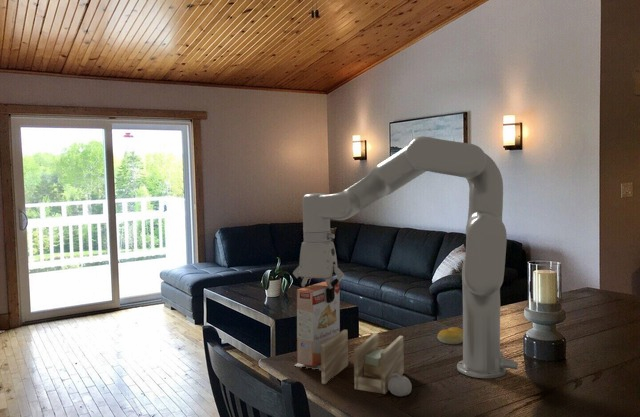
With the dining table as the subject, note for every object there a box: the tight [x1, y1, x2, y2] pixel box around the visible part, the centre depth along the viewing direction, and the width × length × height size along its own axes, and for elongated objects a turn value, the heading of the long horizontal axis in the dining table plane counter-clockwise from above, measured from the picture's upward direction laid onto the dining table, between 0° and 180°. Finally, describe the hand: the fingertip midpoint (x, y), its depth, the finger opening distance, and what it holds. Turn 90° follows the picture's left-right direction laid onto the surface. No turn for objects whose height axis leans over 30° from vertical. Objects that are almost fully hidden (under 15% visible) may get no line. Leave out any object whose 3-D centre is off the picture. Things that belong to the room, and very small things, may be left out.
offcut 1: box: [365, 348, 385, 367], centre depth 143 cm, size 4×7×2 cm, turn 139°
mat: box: [293, 362, 321, 371], centre depth 159 cm, size 10×12×1 cm
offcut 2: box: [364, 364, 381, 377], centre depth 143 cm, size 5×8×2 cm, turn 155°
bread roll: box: [436, 326, 463, 345], centre depth 175 cm, size 8×9×4 cm
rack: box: [320, 329, 405, 395], centre depth 145 cm, size 17×15×10 cm
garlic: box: [388, 373, 413, 397], centre depth 135 cm, size 6×5×5 cm
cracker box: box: [296, 281, 341, 366], centre depth 158 cm, size 14×6×21 cm, turn 146°
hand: (318, 300), depth 158 cm, fingers closed on cracker box, 6 cm apart
